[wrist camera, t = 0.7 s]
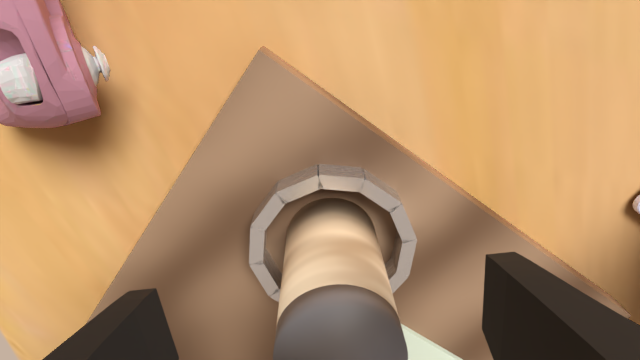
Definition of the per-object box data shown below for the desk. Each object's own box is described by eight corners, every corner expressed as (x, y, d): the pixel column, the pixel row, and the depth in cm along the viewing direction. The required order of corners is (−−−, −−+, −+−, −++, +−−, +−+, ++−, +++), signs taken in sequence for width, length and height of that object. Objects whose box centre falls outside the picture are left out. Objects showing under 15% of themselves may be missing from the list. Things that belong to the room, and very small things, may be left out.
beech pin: (393, 228, 19) (436, 347, 12) (340, 288, 20) (353, 425, 13) (320, 180, 18) (325, 283, 11) (269, 246, 19) (246, 373, 12)
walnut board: (611, 296, 22) (631, 315, 21) (415, 458, 27) (421, 482, 26) (263, 45, 17) (258, 49, 15) (99, 304, 22) (85, 324, 20)
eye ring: (440, 221, 18) (448, 235, 17) (346, 322, 21) (347, 340, 19) (312, 133, 17) (312, 142, 16) (224, 253, 19) (218, 269, 18)
